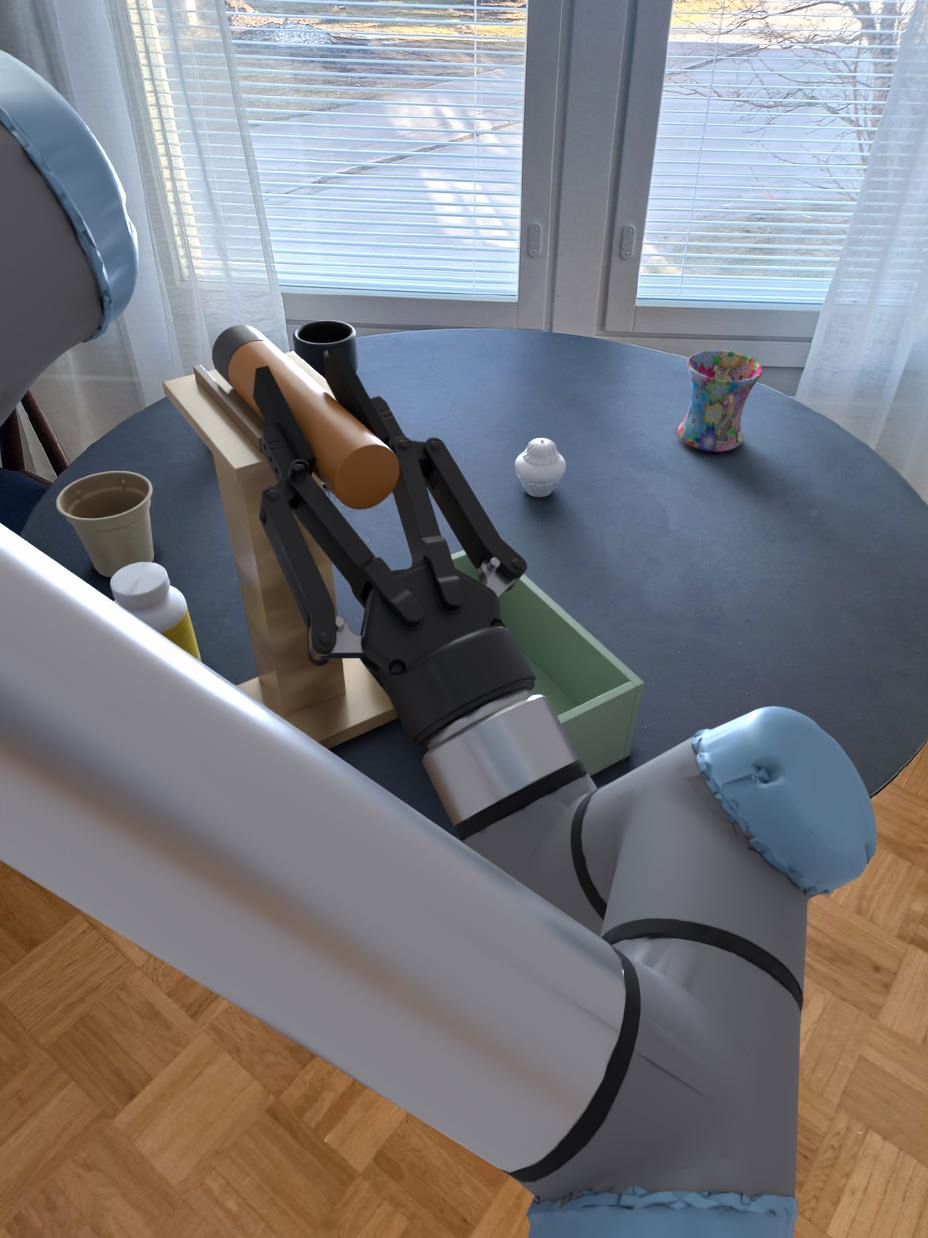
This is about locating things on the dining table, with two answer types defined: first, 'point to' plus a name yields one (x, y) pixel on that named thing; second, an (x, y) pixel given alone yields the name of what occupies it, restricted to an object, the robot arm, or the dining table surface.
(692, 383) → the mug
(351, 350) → the mug
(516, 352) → the dining table surface
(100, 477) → the flower pot
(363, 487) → the orange brown cylinder
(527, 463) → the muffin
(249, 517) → the stand
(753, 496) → the dining table surface
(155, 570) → the pill bottle
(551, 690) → the bin
